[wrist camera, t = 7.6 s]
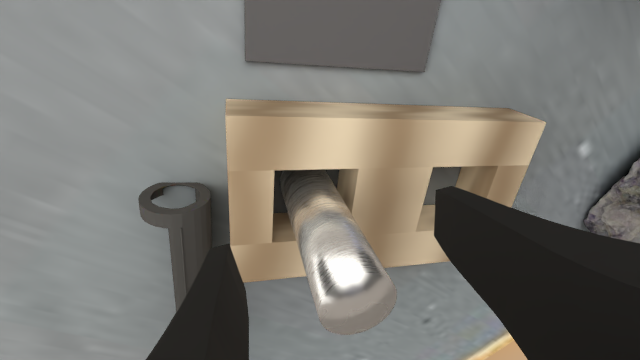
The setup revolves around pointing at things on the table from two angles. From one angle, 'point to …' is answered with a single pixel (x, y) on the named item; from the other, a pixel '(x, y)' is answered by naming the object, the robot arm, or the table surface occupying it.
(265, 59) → the mat
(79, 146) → the table surface
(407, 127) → the hole block
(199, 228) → the caulking gun
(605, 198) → the mineral rock
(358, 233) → the peg
